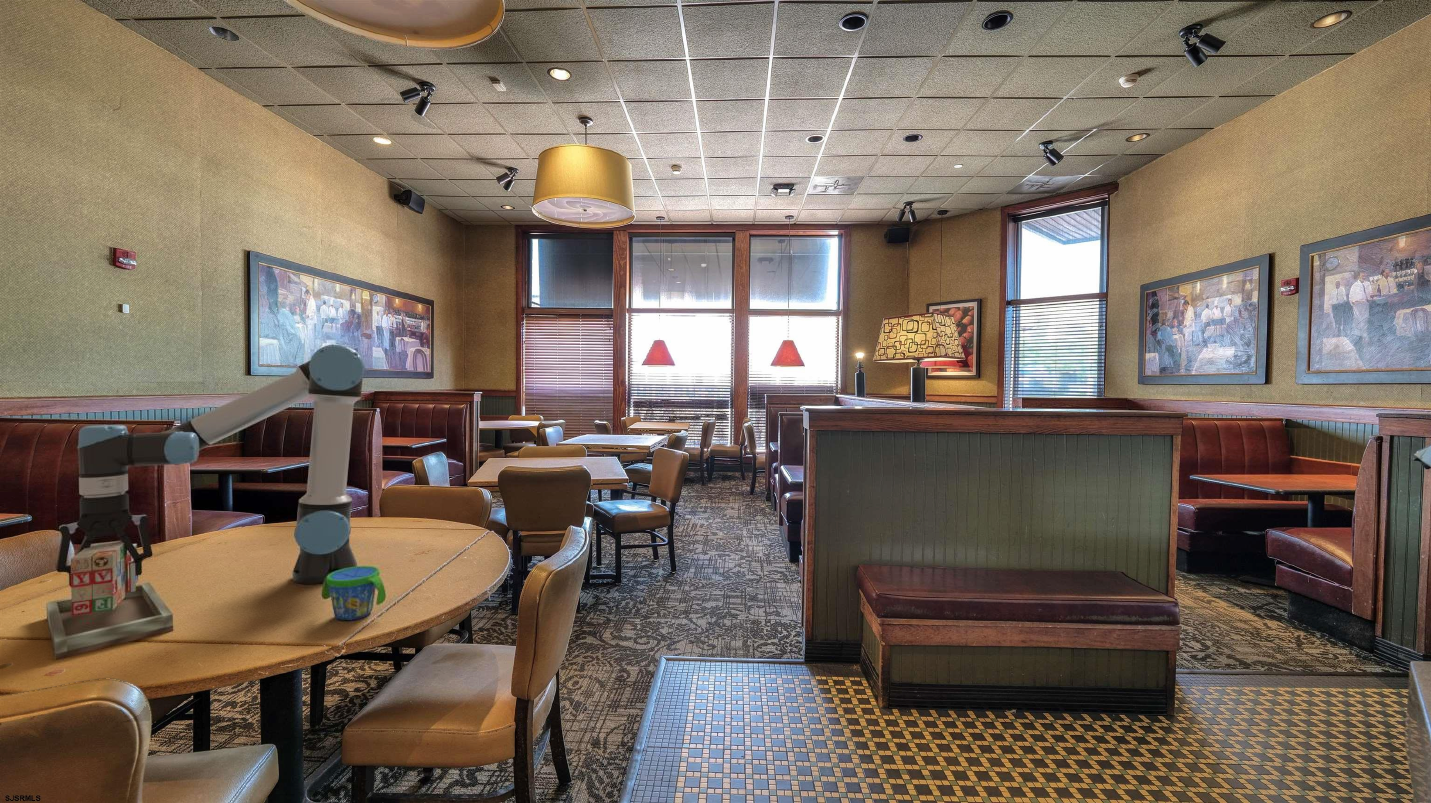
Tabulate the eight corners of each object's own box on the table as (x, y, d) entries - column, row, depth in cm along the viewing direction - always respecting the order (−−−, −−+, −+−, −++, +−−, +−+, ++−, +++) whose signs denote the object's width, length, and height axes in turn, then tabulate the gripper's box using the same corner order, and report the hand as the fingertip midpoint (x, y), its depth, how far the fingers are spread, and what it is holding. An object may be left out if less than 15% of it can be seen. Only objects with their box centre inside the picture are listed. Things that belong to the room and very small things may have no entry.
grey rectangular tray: (149, 596, 145) (149, 582, 145) (173, 630, 126) (172, 614, 126) (46, 618, 132) (46, 602, 132) (55, 659, 113) (55, 641, 113)
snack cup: (398, 610, 138) (398, 569, 137) (359, 628, 128) (358, 583, 127) (349, 602, 142) (348, 562, 142) (307, 619, 132) (306, 576, 132)
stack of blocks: (102, 585, 136) (101, 534, 136) (139, 580, 140) (138, 530, 140) (70, 616, 119) (69, 557, 118) (113, 610, 122) (112, 553, 122)
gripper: (34, 503, 118) (38, 613, 119) (169, 489, 134) (171, 586, 134) (33, 498, 122) (36, 604, 123) (163, 486, 138) (165, 579, 139)
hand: (107, 595), depth 129 cm, fingers closed on stack of blocks, 7 cm apart
